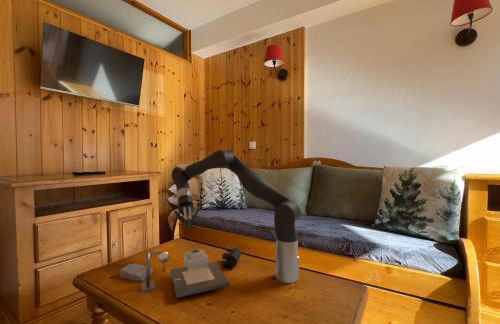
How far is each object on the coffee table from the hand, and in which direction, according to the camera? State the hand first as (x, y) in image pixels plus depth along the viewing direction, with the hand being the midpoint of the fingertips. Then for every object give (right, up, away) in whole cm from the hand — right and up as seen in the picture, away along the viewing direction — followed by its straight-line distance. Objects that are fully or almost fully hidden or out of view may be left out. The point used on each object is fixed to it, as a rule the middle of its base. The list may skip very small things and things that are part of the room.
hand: (189, 227), depth 118 cm
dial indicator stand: (-9, -18, -20) cm, 28 cm away
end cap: (+21, -18, 0) cm, 28 cm away
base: (+8, -19, -18) cm, 27 cm away
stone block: (-20, -19, -10) cm, 29 cm away
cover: (+6, -15, -14) cm, 21 cm away
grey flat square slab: (+8, -17, -18) cm, 25 cm away
